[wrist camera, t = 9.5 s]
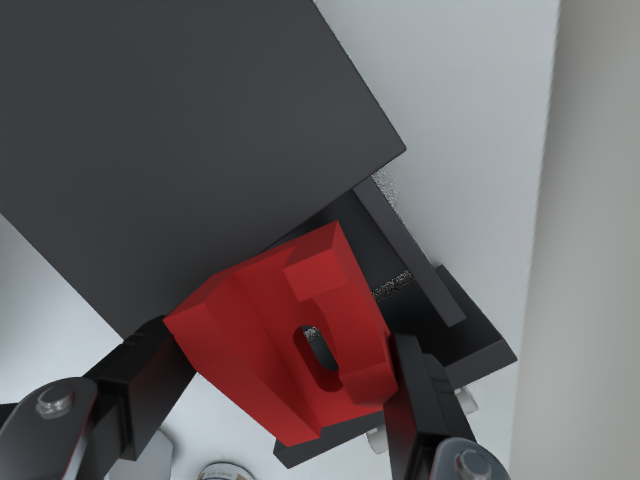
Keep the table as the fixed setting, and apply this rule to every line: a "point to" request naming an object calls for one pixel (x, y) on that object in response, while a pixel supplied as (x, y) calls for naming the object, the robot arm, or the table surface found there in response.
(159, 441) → the salt shaker
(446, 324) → the cabinet drawer
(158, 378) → the robot arm
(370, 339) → the bracket
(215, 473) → the pill bottle
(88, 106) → the small drawer cabinet
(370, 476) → the table surface
